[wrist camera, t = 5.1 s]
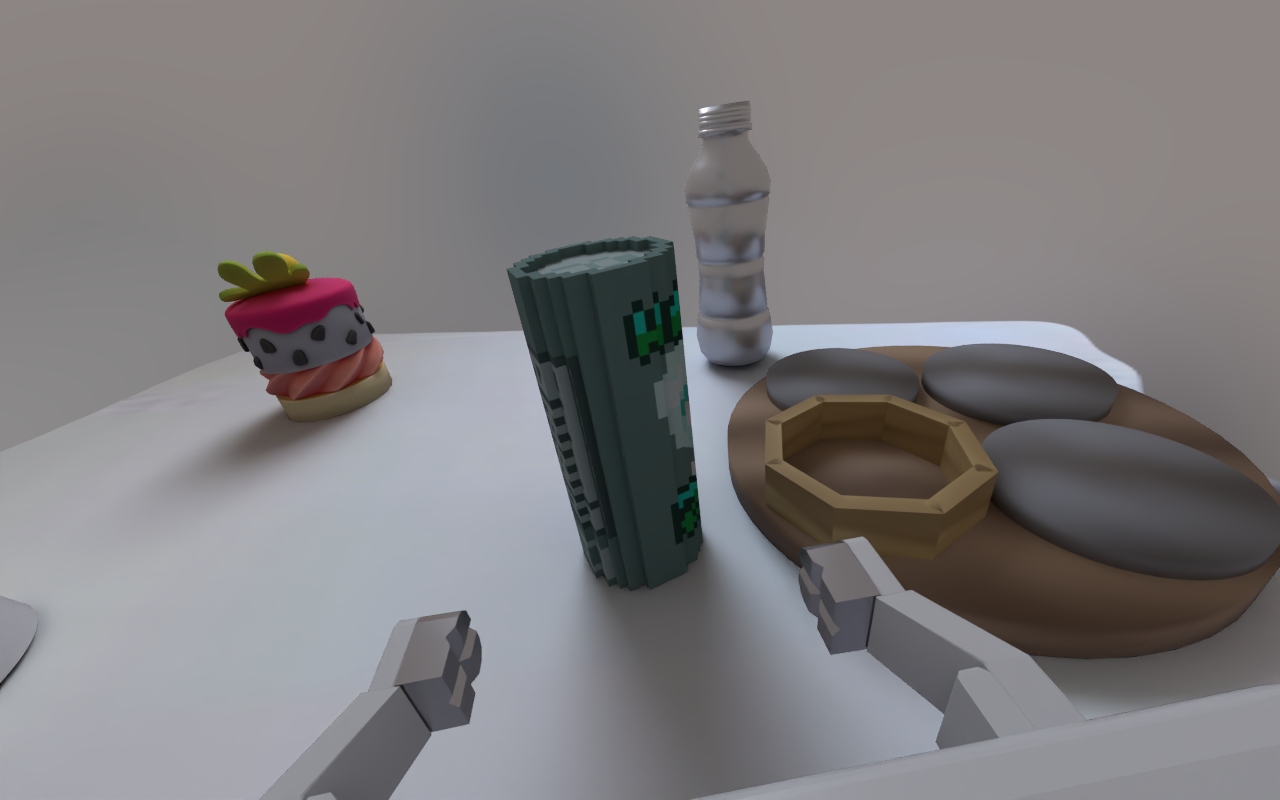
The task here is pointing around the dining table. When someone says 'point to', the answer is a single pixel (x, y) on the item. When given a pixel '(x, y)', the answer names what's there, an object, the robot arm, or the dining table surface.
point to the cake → (305, 337)
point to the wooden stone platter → (1011, 492)
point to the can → (616, 400)
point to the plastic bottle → (730, 237)
